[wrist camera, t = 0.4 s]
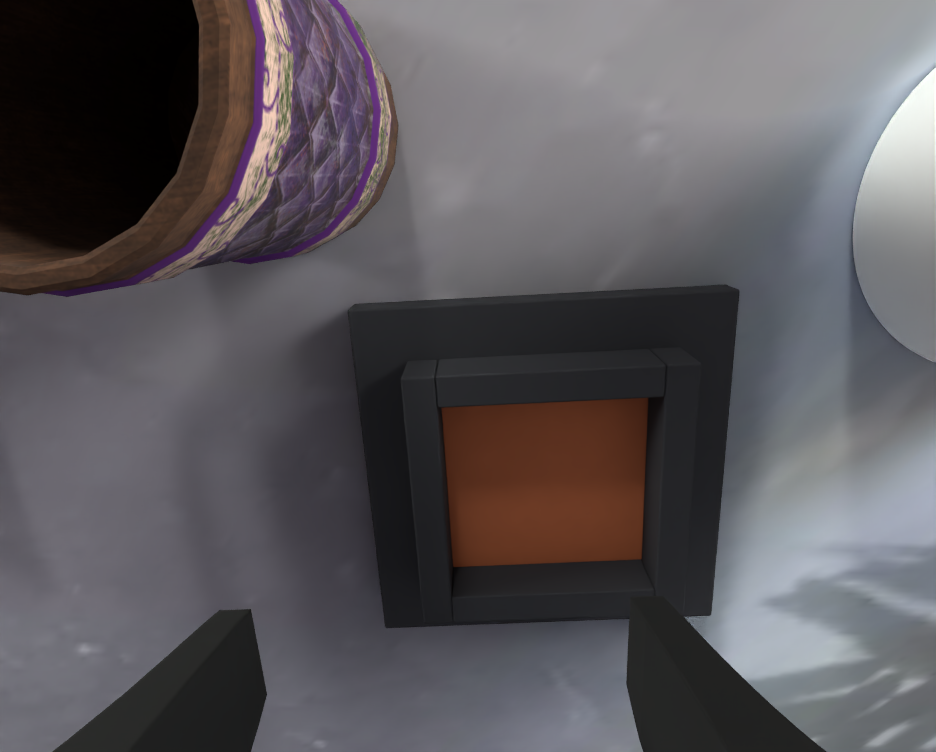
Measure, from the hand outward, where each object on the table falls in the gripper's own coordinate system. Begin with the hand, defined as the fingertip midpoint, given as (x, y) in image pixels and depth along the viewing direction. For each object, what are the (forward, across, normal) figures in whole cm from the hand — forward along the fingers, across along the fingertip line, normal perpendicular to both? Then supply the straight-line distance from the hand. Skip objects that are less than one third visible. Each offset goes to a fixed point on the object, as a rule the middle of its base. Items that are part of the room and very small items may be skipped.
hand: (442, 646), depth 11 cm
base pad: (+10, -3, +1) cm, 10 cm away
